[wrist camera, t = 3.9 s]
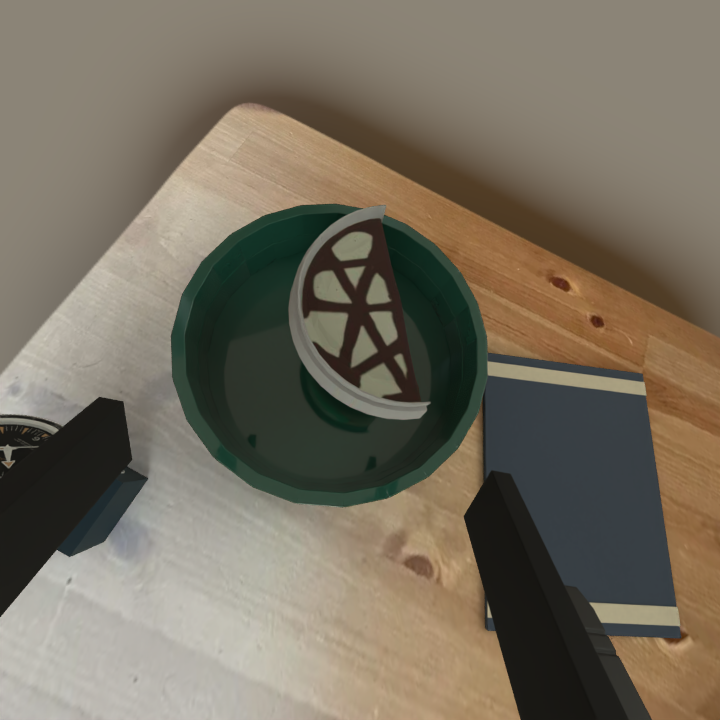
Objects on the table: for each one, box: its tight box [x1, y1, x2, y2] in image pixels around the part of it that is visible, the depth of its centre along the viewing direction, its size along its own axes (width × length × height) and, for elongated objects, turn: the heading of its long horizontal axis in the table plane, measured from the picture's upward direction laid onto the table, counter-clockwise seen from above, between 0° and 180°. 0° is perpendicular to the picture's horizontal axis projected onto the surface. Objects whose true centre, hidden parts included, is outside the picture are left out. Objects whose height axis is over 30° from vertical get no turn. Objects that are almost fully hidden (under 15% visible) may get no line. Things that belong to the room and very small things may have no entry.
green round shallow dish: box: [171, 204, 488, 507], centre depth 24 cm, size 21×21×5 cm
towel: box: [483, 353, 681, 638], centre depth 26 cm, size 15×20×1 cm
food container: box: [288, 205, 431, 420], centre depth 21 cm, size 12×6×10 cm, turn 10°
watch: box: [0, 414, 148, 557], centre depth 17 cm, size 6×8×11 cm
